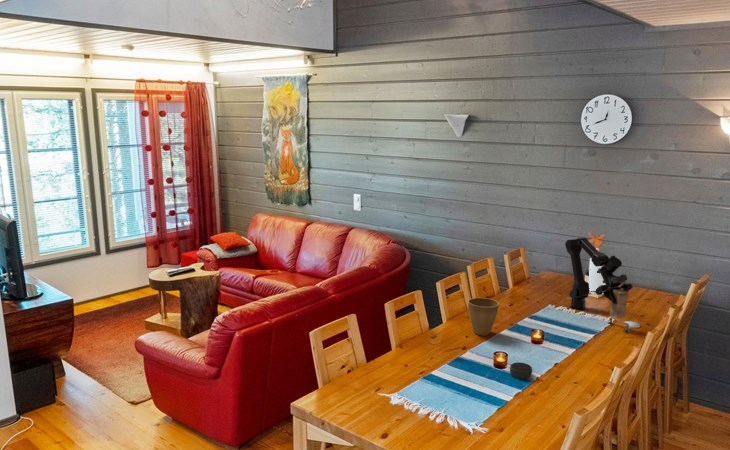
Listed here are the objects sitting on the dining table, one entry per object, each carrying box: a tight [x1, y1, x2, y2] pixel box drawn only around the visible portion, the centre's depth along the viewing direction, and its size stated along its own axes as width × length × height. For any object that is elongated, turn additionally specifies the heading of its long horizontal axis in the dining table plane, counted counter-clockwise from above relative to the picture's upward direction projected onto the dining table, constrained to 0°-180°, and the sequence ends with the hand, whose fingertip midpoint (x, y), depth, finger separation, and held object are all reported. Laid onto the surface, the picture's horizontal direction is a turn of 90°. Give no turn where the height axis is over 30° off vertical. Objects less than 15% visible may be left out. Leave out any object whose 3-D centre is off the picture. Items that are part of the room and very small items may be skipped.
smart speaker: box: [509, 361, 533, 380], centre depth 246 cm, size 9×9×4 cm
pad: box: [623, 320, 641, 329], centre depth 306 cm, size 8×8×1 cm
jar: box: [584, 269, 589, 282], centre depth 367 cm, size 9×8×12 cm
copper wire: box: [606, 315, 631, 334], centre depth 302 cm, size 14×3×4 cm, turn 17°
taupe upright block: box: [609, 289, 629, 318], centre depth 299 cm, size 5×5×13 cm
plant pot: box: [467, 297, 500, 336], centre depth 292 cm, size 15×15×16 cm
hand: (620, 303), depth 298 cm, fingers closed on taupe upright block, 5 cm apart
